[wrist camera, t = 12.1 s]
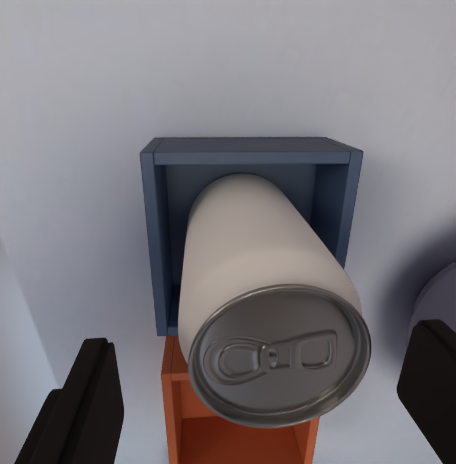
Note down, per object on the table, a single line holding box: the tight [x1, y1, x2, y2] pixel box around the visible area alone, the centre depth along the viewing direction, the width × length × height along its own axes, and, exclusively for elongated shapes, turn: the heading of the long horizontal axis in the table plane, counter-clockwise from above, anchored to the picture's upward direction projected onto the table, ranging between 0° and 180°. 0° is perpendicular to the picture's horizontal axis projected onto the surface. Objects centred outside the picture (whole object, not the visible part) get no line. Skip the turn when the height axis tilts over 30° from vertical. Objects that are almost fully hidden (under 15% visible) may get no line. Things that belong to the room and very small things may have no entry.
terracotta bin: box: [161, 335, 320, 464], centre depth 24 cm, size 10×10×5 cm
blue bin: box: [140, 137, 363, 336], centre depth 19 cm, size 10×10×5 cm
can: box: [178, 173, 371, 428], centre depth 16 cm, size 6×6×12 cm
